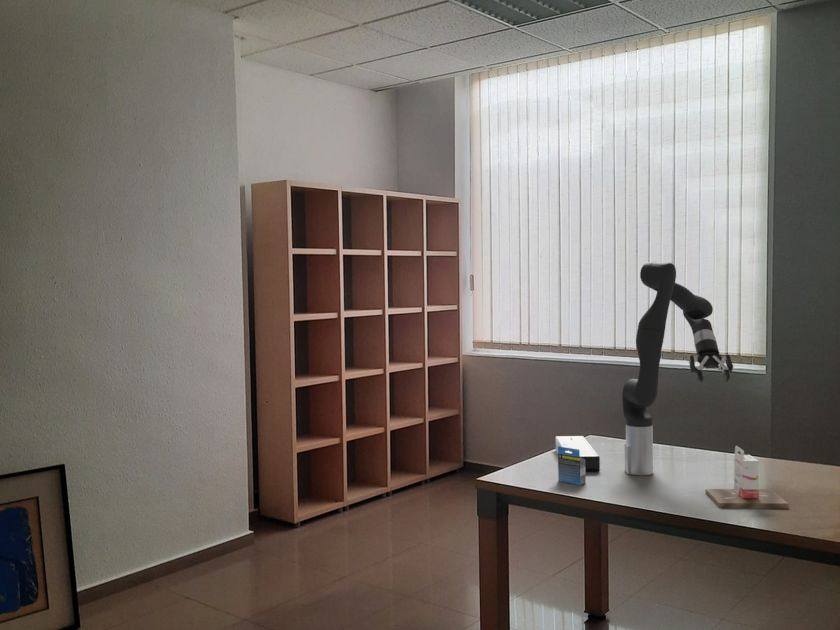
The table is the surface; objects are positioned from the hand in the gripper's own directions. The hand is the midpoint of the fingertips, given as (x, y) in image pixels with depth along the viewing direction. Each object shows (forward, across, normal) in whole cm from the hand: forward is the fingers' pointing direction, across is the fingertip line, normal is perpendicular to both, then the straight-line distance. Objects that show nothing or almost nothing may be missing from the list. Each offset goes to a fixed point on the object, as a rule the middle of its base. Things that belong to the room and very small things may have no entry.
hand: (714, 380), depth 269 cm
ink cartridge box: (+45, +1, -1) cm, 45 cm away
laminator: (+12, -46, +34) cm, 59 cm away
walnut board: (+47, 0, -1) cm, 47 cm away
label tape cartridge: (+33, -51, +13) cm, 62 cm away
